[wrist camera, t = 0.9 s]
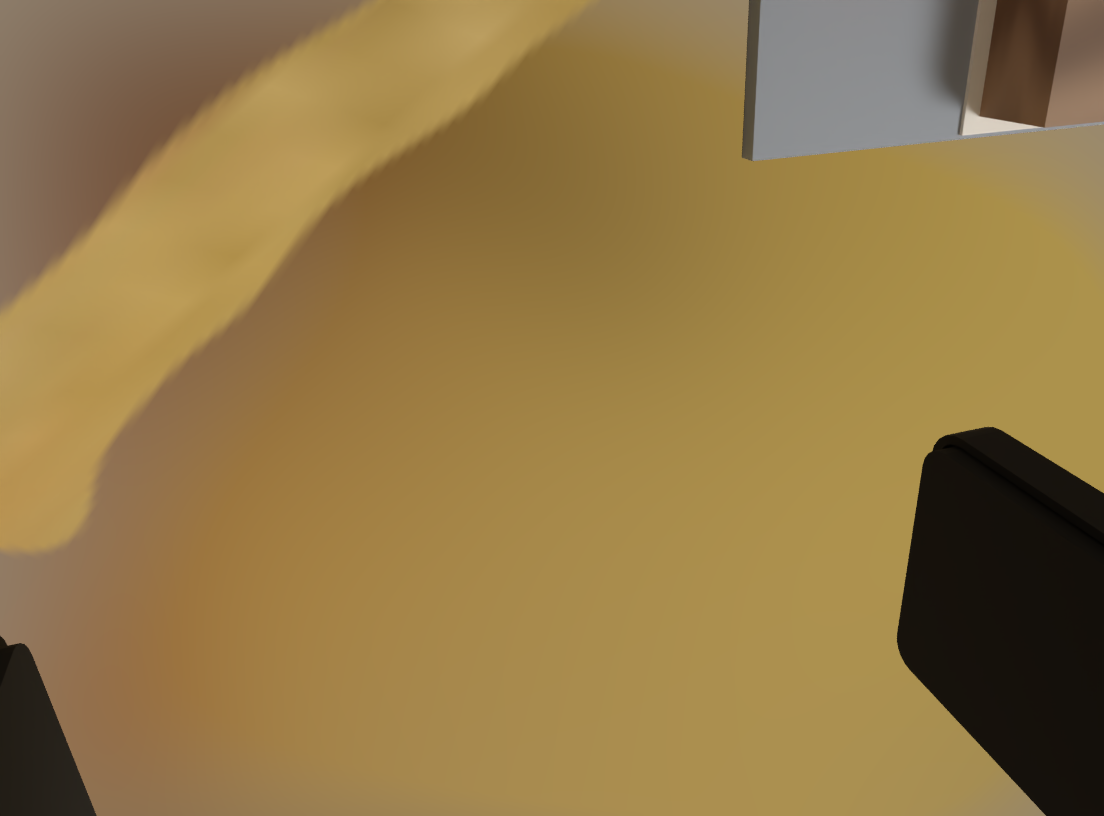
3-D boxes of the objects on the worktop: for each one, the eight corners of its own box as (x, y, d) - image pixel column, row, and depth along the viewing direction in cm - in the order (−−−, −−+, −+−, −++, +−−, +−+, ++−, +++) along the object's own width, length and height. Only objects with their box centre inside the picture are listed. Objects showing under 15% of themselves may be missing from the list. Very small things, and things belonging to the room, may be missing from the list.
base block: (1009, -79, 39) (1083, -86, 35) (1158, -85, 41) (1243, -92, 37) (979, 116, 42) (1044, 127, 39) (1118, 102, 44) (1192, 112, 40)
